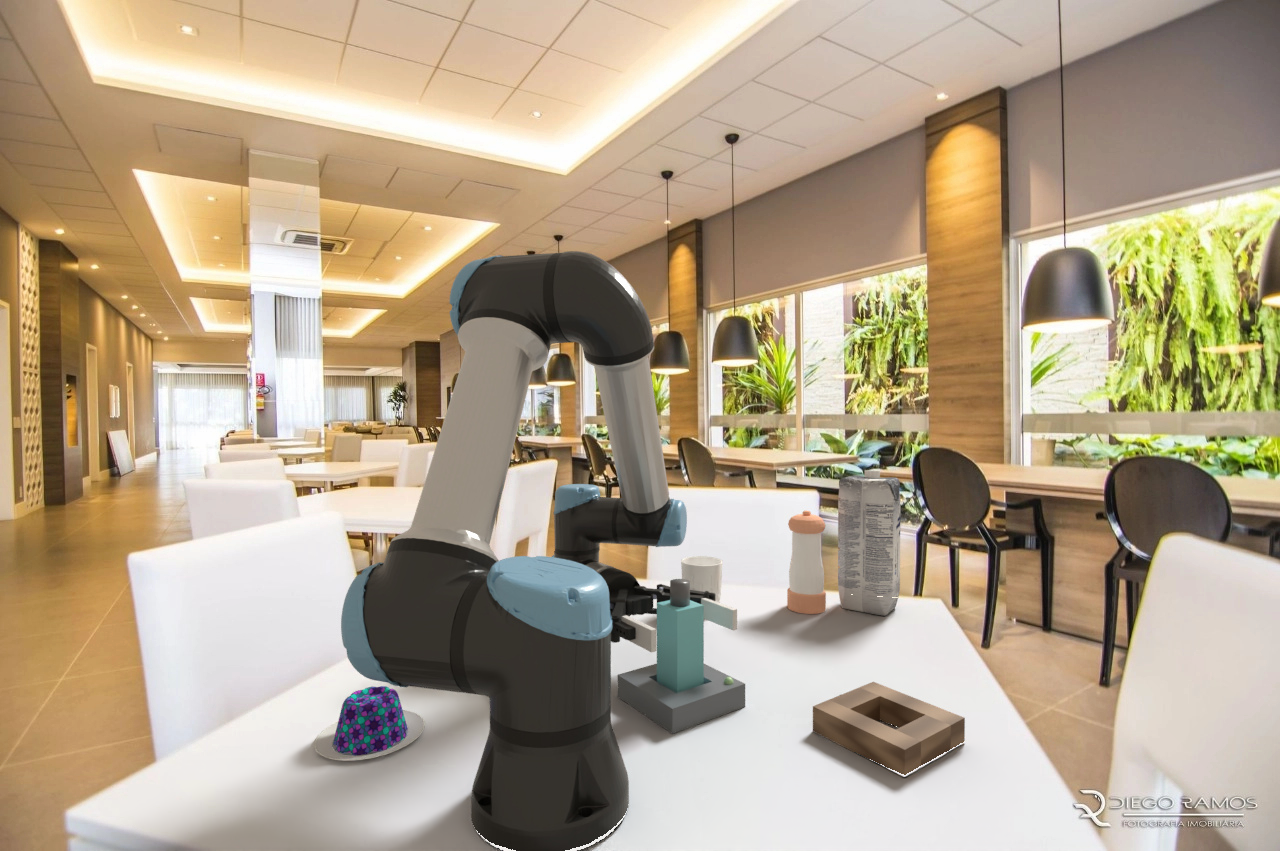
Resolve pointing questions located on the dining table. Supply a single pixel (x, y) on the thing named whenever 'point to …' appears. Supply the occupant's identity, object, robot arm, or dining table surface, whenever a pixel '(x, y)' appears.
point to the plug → (680, 639)
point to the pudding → (369, 726)
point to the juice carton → (869, 543)
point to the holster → (900, 749)
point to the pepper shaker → (806, 565)
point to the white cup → (703, 574)
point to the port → (680, 697)
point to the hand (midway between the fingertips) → (696, 629)
